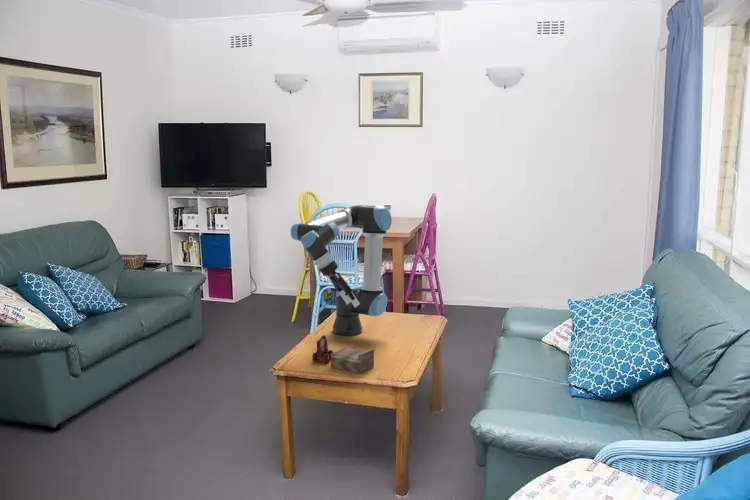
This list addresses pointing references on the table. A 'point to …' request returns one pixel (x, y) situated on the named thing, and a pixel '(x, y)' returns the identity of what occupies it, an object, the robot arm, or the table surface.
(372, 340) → the table surface
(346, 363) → the stand
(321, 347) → the toy fire truck
